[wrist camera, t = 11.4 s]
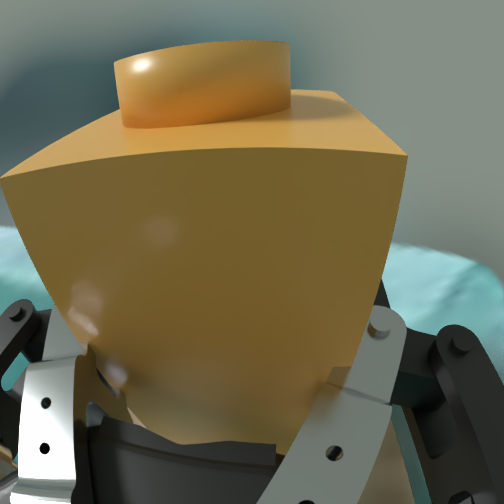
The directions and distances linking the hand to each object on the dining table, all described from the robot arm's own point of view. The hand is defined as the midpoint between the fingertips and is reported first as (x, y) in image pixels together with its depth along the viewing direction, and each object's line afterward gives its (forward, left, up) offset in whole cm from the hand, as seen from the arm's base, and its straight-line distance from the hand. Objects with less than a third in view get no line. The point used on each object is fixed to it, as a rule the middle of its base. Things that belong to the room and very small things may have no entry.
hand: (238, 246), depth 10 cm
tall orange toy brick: (0, -2, -7) cm, 7 cm away
